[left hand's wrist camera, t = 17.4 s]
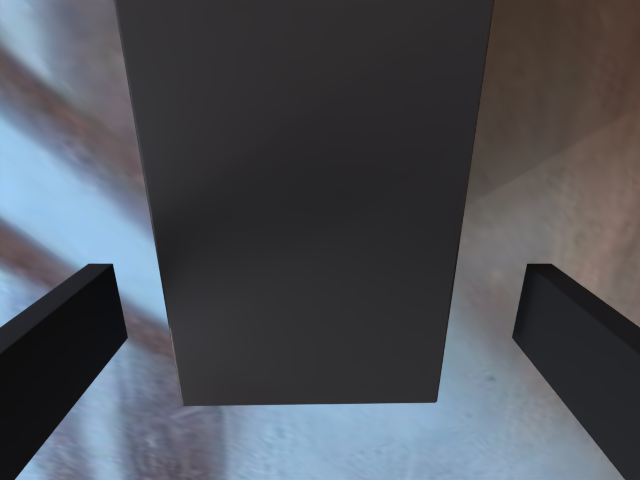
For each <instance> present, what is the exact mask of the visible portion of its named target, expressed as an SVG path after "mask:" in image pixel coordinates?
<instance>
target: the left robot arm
mask: <svg viewBox="0 0 640 480" xmlns="http://www.w3.org/2000/svg"><path fill="white" fill-rule="evenodd" d="M127 338H128V336H127V331H126V326H125V321H124V316H123V311H122V306H121V302H120V297H119V292H118V287H117V282H116V277H115V272H114V267H113V264H88V265H86V266H85V267H83V268H82V269H81V270H79V271H78V272H76V273H75V274H74V275H72V276H71V277H70V278H68V279H67V280H65V281H64V282H63V283H61V284H60V285H58V286H57V287H56V288H54V289H53V290H52V291H50V292H49V293H47V294H46V295H45V296H43V297H42V298H40V299H39V300H38V301H36V302H35V303H34V304H32V305H31V306H29V307H28V308H27V309H25V310H24V311H23V312H21V313H20V314H18V315H17V316H16V317H14V318H13V319H11V320H10V321H9V322H7V323H6V324H5V325H3V326H2V327H0V480H15V479H16V477H17V476H18V475H19V474H20V472H21V471H22V470H23V469H24V467H25V466H26V465H27V464H28V462H29V461H30V460H31V459H32V457H33V456H34V455H35V454H36V452H37V451H38V450H39V449H40V447H41V446H42V445H43V444H44V442H45V441H46V440H47V439H48V437H49V436H50V435H51V434H52V432H53V431H54V430H55V429H56V427H57V426H58V425H59V424H60V422H61V421H62V420H63V418H64V417H65V416H66V415H67V413H68V412H69V411H70V410H71V408H72V407H73V406H74V405H75V403H76V402H77V401H78V400H79V398H80V397H81V396H82V395H83V393H84V392H85V391H86V390H87V388H88V387H89V386H90V385H91V383H92V382H93V381H94V380H95V378H96V377H97V376H98V375H99V373H100V372H101V371H102V370H103V368H104V367H105V366H106V365H107V363H108V362H109V361H110V359H111V358H112V357H113V356H114V354H115V353H116V352H117V351H118V349H119V348H120V347H121V346H122V344H123V343H124V342H125V341H126V339H127ZM512 338H513V339H514V341H515V342H516V343H517V344H518V346H519V347H520V348H521V349H522V351H523V352H524V353H525V354H526V356H527V357H528V358H529V359H530V361H531V362H532V363H533V365H534V366H535V367H536V368H537V370H538V371H539V372H540V373H541V375H542V376H543V377H544V378H545V380H546V381H547V382H548V383H549V385H550V386H551V387H552V388H553V390H554V391H555V392H556V393H557V395H558V396H559V397H560V398H561V400H562V401H563V402H564V403H565V405H566V406H567V407H568V408H569V410H570V411H571V412H572V413H573V415H574V416H575V417H576V418H577V420H578V421H579V422H580V424H581V425H582V426H583V427H584V429H585V430H586V431H587V432H588V434H589V435H590V436H591V437H592V439H593V440H594V441H595V442H596V444H597V445H598V446H599V447H600V449H601V450H602V451H603V452H604V454H605V455H606V456H607V457H608V459H609V460H610V461H611V462H612V464H613V465H614V466H615V467H616V469H617V470H618V471H619V472H620V474H621V475H622V476H623V477H624V479H625V480H640V327H638V326H637V325H635V324H634V323H633V322H631V321H630V320H629V319H627V318H626V317H624V316H623V315H622V314H620V313H619V312H617V311H616V310H615V309H613V308H612V307H611V306H609V305H608V304H606V303H605V302H604V301H602V300H601V299H600V298H598V297H597V296H595V295H594V294H593V293H591V292H590V291H588V290H587V289H586V288H584V287H583V286H582V285H580V284H579V283H577V282H576V281H575V280H573V279H572V278H570V277H569V276H568V275H566V274H565V273H564V272H562V271H561V270H559V269H558V268H557V267H555V266H554V265H552V264H527V267H526V272H525V277H524V282H523V287H522V292H521V297H520V302H519V306H518V311H517V316H516V321H515V326H514V331H513V336H512Z"/></svg>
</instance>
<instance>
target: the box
mask: <svg viewBox="0 0 640 480" xmlns="http://www.w3.org/2000/svg"><path fill="white" fill-rule="evenodd" d="M114 2H115V8H116V14H117V20H118V26H119V32H120V38H121V44H122V50H123V56H124V62H125V68H126V74H127V80H128V86H129V92H130V98H131V104H132V109H133V115H134V121H135V127H136V133H137V139H138V145H139V151H140V157H141V163H142V169H143V175H144V181H145V187H146V193H147V199H148V205H149V211H150V217H151V223H152V229H153V235H154V241H155V247H156V252H157V258H158V264H159V270H160V276H161V282H162V288H163V294H164V300H165V306H166V312H167V318H168V324H169V330H170V336H171V342H172V348H173V354H174V360H175V366H176V372H177V378H178V384H179V390H180V396H181V401H182V405H183V406H222V405H297V404H371V403H435V402H437V397H438V390H439V383H440V376H441V369H442V362H443V355H444V348H445V341H446V334H447V327H448V320H449V313H450V306H451V299H452V292H453V285H454V278H455V271H456V264H457V257H458V250H459V243H460V236H461V229H462V222H463V215H464V208H465V201H466V194H467V187H468V180H469V173H470V166H471V159H472V152H473V145H474V138H475V131H476V124H477V117H478V110H479V103H480V96H481V89H482V82H483V75H484V68H485V61H486V54H487V47H488V40H489V33H490V26H491V19H492V12H493V5H494V0H114Z"/></svg>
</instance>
